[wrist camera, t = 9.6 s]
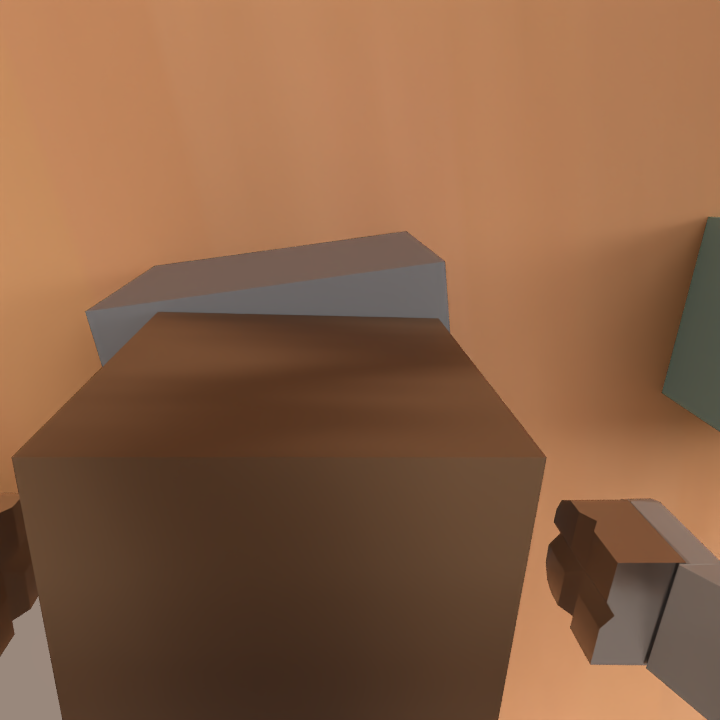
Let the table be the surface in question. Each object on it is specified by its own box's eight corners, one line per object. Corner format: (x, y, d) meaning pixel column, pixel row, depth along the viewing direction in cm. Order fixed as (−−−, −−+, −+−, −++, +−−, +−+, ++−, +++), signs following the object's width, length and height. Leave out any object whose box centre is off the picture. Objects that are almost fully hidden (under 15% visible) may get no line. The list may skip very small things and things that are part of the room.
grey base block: (405, 230, 15) (444, 261, 11) (426, 448, 18) (465, 551, 13) (155, 264, 15) (85, 311, 11) (211, 480, 18) (173, 596, 13)
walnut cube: (438, 318, 11) (546, 457, 6) (416, 543, 13) (484, 796, 8) (158, 311, 11) (10, 456, 5) (176, 546, 12) (81, 819, 7)
